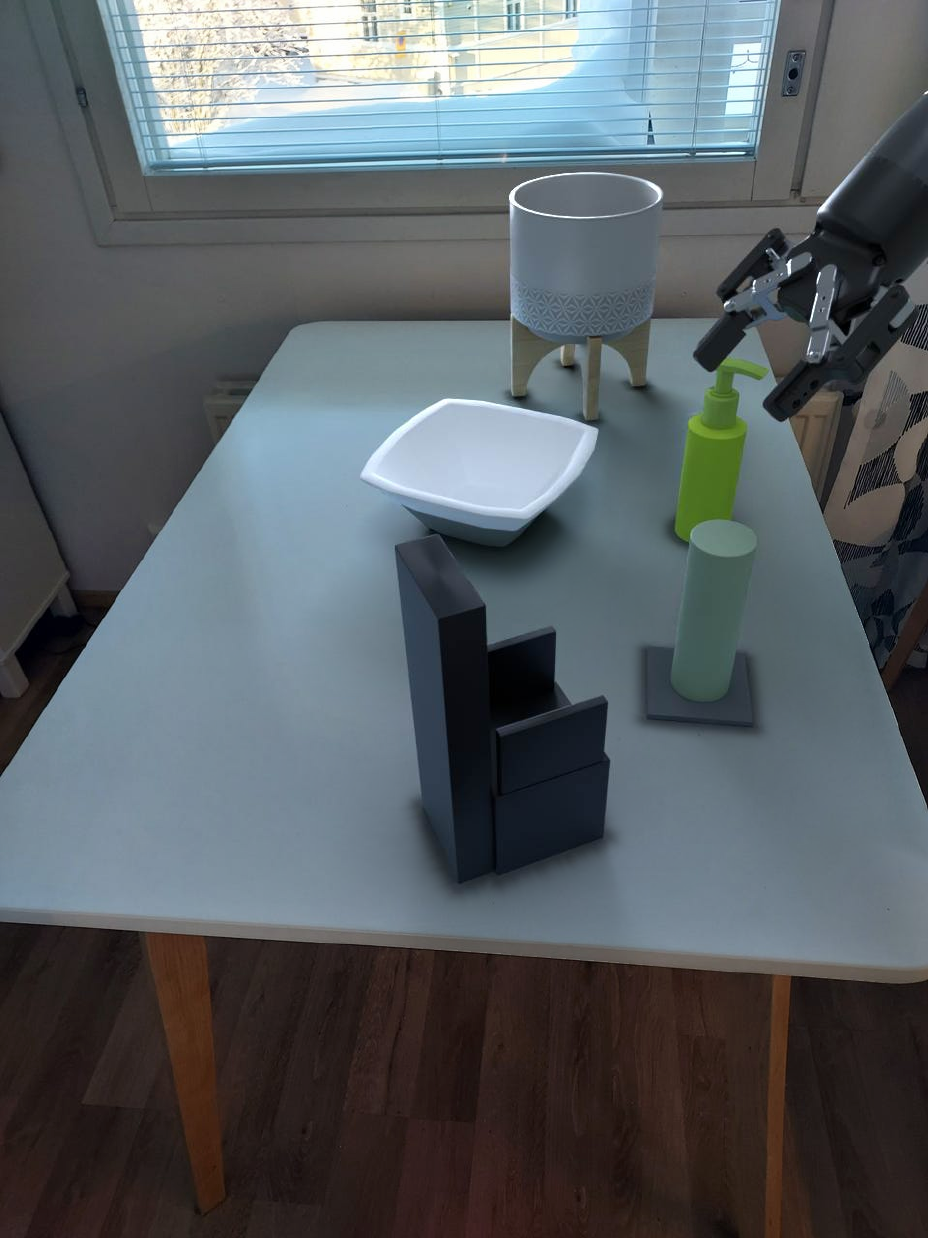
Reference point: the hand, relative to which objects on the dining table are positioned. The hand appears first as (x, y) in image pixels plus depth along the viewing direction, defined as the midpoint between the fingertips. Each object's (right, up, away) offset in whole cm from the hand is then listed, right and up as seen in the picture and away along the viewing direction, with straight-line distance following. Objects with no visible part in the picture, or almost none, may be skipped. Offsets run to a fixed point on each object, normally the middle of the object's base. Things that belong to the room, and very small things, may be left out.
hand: (733, 388), depth 65 cm
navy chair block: (-15, -32, +9) cm, 37 cm away
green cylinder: (+2, -22, +19) cm, 29 cm away
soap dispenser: (+8, -7, +38) cm, 39 cm away
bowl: (-17, -4, +42) cm, 46 cm away
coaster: (+2, -22, +19) cm, 30 cm away
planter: (-3, +16, +66) cm, 68 cm away
